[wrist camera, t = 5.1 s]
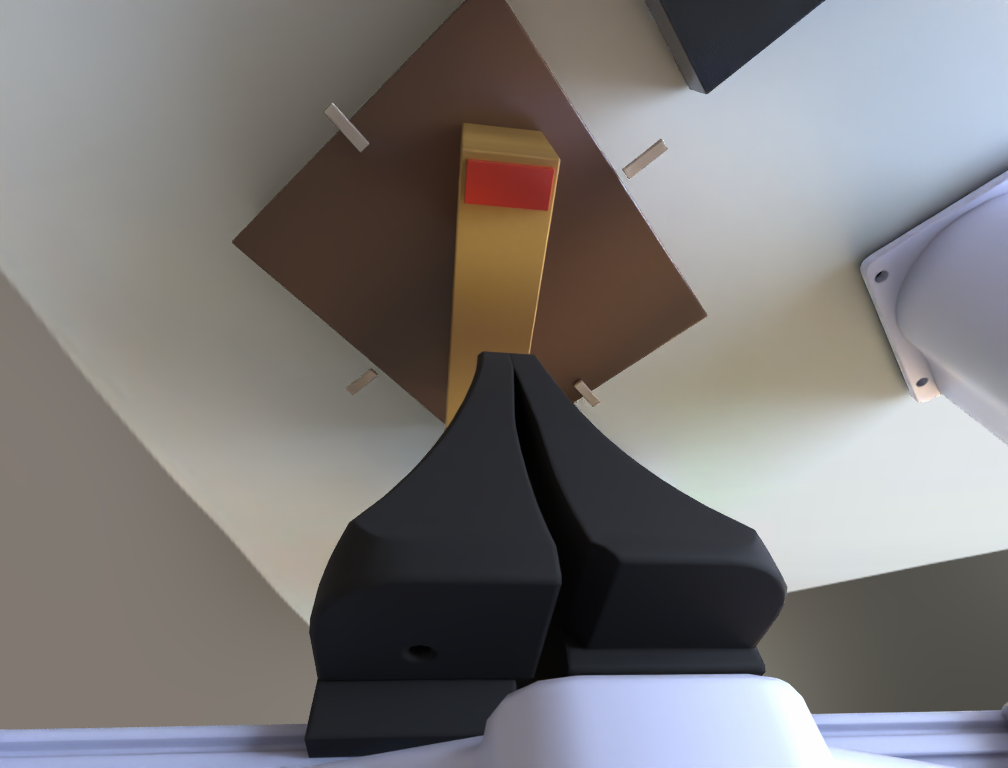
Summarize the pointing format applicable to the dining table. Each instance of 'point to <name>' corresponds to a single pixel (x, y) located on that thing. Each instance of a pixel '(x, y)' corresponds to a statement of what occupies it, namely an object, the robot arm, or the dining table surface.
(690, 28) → the button housing
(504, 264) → the wooden block
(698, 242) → the dining table surface
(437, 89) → the holder base
